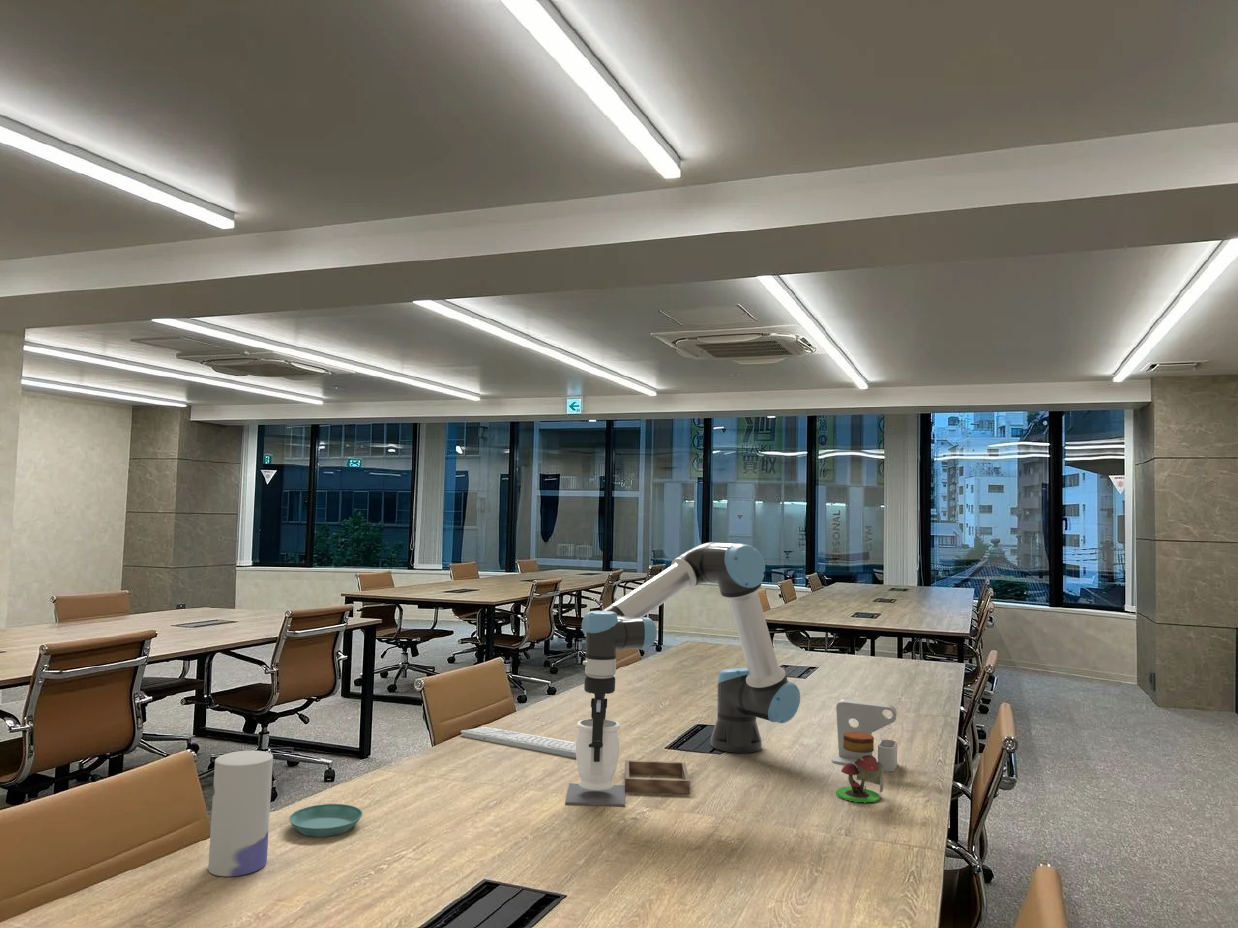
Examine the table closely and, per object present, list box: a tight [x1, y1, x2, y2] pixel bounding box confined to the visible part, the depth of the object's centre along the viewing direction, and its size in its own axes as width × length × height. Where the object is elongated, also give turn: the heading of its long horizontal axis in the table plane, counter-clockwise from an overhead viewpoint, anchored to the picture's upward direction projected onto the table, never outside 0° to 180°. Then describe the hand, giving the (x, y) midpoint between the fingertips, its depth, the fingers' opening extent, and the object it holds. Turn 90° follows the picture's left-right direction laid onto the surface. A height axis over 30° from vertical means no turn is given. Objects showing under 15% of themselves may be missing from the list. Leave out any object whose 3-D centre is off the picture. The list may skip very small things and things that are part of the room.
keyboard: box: [460, 726, 576, 759], centre depth 249 cm, size 44×12×2 cm, turn 61°
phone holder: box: [831, 698, 898, 772], centre depth 239 cm, size 17×10×18 cm, turn 65°
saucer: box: [288, 803, 363, 838], centre depth 178 cm, size 15×15×3 cm
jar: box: [575, 718, 621, 791], centre depth 204 cm, size 11×10×15 cm
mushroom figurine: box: [835, 732, 885, 804], centre depth 209 cm, size 12×13×15 cm
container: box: [207, 750, 274, 877], centre depth 157 cm, size 10×10×20 cm
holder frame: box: [624, 759, 691, 794], centre depth 215 cm, size 16×16×3 cm
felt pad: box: [564, 783, 626, 807], centre depth 203 cm, size 14×14×1 cm
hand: (596, 767), depth 203 cm, fingers closed on jar, 10 cm apart
